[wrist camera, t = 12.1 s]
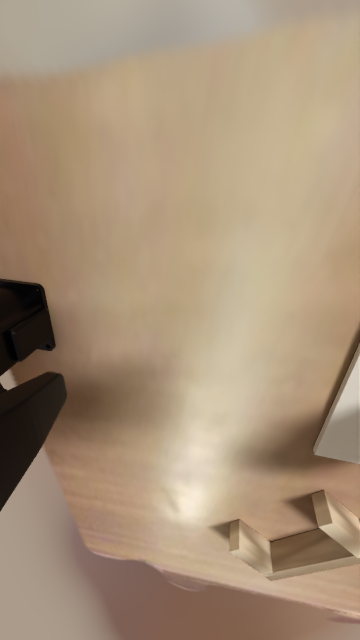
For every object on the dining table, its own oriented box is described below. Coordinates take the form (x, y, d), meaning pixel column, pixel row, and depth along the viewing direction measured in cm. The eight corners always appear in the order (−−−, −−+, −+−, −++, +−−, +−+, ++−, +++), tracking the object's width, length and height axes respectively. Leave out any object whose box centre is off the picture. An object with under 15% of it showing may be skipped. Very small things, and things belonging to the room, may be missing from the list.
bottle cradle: (230, 522, 33) (229, 551, 31) (324, 490, 27) (332, 522, 25) (268, 550, 35) (271, 580, 32) (366, 525, 29) (379, 560, 26)
